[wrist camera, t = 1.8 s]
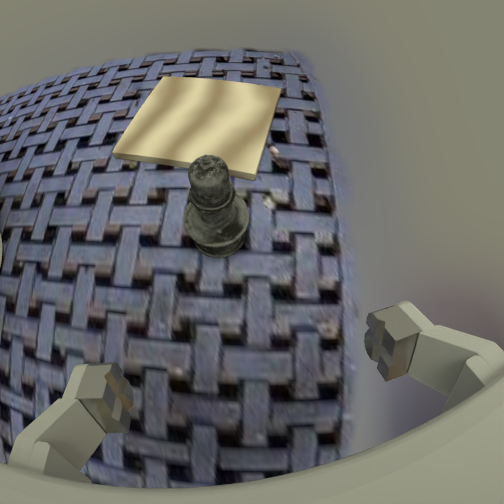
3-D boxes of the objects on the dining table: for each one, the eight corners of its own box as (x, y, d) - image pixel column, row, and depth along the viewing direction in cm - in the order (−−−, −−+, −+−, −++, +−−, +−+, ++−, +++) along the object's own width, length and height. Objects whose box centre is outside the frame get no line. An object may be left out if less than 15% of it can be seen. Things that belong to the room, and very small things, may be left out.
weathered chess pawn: (200, 202, 31) (180, 120, 19) (254, 214, 30) (260, 131, 19) (182, 253, 28) (147, 184, 17) (240, 267, 28) (237, 201, 17)
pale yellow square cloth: (115, 158, 33) (112, 152, 32) (164, 82, 38) (163, 76, 37) (254, 180, 32) (255, 174, 31) (280, 95, 37) (280, 88, 36)
